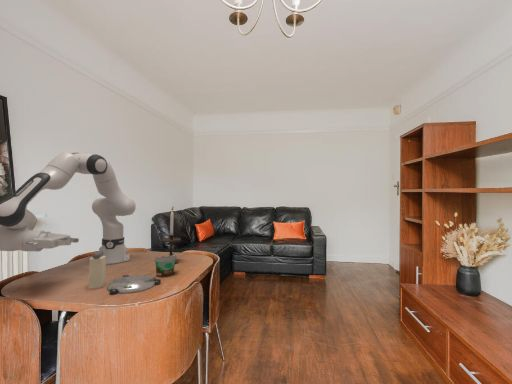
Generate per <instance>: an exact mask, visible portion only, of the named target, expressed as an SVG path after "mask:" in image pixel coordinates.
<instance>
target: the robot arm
mask: <svg viewBox="0 0 512 384" xmlns="http://www.w3.org/2000/svg"><path fill="white" fill-rule="evenodd" d="M76 173H79V174H81V175H82V174H83V175H92V177H93V182H94V184H95V187H96V189H97V192H98V194H100V195H101V196H103V197H101V198H96V199H95V200H94V201H93V202H92V204H91V210H92V211H93V213H94V214H95V215H96V216H97V217H98V218H99V219H100V222H101V225H102V238H101V246H100V247H99V248H98V251H103V255H102V256H106V265H110V264H118V263H120V264H121V263H123V262H129V261H130V259H131V254H130V253H128V252H127V251H128V250H127V246H126V245H125V237H124V229H125V228H124V224H123V223H122V222H120V221H119V220H118V219H117V217H126V216H130V215H133V214H134V213H135V211H136V203H135V201H134V200H133V199H131V198H130V197H129V196H128V195H126V194H125V193H124V192H123V191H122V189H121V188H120V185H119V182H118V180H117V178H116V177H117V176H116V174H115V171H114V169H113V167H112V165H111V163H110V162H109V161H108V160H106V158H105V157H104V156H102V155H99V154H94V153H88V152H72V153H71V152H67V151H63V152H60V153H59V154H58V155H56V156H55V157H54V158H53V159H51V160H50V161H49V162H48V164H46V166H45V167H44V168H42V170H41V171H39V172H38V173H35V174H34V175H32V176H31V177H30V178H28V179H27V180H26V181H25V182H24V183H23V184H22V185H21V186H19V188H17V190H15V191H14V192H13V193H12V194H11V195H9V197H7V198H6V199H4V200H1V201H0V251H1V252H2V251H3V252H17V251H23V252H41V251H42V250H43V249H45V250H46V249H54V248H57V247H60V246H71V244H72V243H79V241H80V238H78V237H77V238H75V237H71V235H69V234H65V233H64V234H63V233H62V234H61V233H55V232H54V233H52V232H51V231H45V230H43V229H42V230H38V229H35V230H34V228H35V227H36V225H37V216H35V214H34V213H33V212H31V211H30V210H29V209H27V208H28V205H29V203H31V202H32V201H33V200H34V198H35V197H37V195H38V194H39V193H41V191H44V190H51V191H52V190H53V191H57V190H61V189H63V188H64V187H65V186H66V185H68V183H69V182H70V180H71V179H72V178H73V177H74V175H75V174H76Z"/></svg>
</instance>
